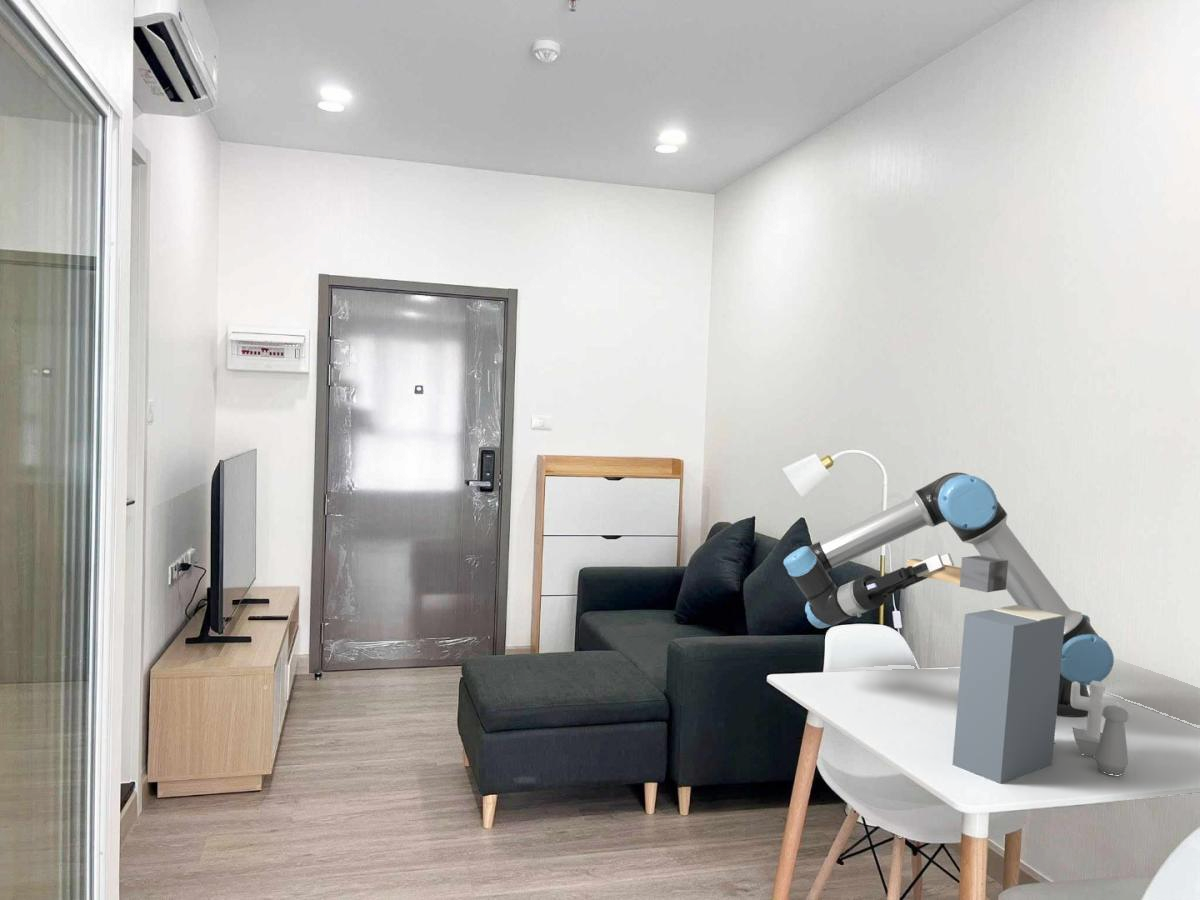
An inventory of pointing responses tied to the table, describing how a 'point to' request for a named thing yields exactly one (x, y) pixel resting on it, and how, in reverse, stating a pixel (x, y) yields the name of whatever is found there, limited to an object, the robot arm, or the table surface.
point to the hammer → (972, 573)
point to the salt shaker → (1113, 742)
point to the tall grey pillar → (1008, 691)
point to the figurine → (1090, 715)
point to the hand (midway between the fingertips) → (945, 560)
